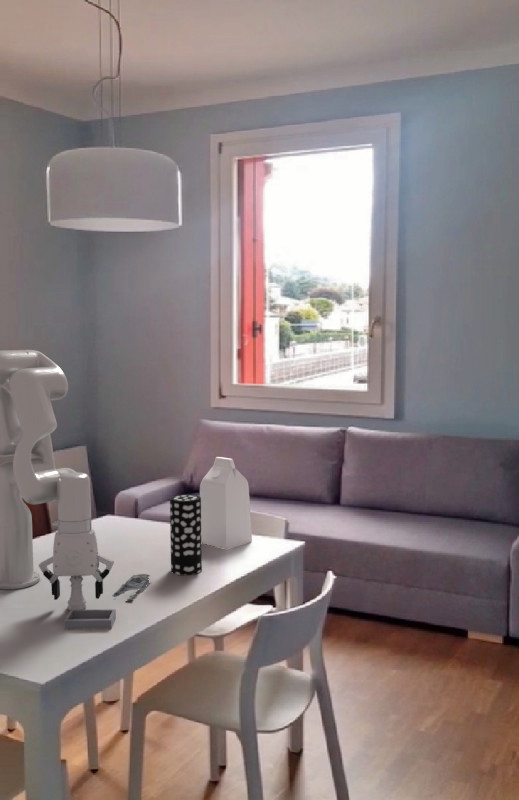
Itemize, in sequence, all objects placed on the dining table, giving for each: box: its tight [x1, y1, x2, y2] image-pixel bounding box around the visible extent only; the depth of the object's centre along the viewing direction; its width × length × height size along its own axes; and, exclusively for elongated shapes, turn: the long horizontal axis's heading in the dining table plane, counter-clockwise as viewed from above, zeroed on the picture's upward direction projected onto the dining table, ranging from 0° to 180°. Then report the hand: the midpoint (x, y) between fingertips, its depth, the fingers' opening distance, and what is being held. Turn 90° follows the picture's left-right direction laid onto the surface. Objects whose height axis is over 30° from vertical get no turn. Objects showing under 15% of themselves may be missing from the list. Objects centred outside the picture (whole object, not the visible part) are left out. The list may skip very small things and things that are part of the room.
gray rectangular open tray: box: [64, 608, 117, 630], centre depth 181 cm, size 10×7×2 cm, turn 92°
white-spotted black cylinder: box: [169, 494, 203, 576], centre depth 218 cm, size 8×8×20 cm
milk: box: [199, 456, 253, 550], centre depth 246 cm, size 12×12×26 cm
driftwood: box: [112, 573, 151, 602], centre depth 205 cm, size 21×7×2 cm, turn 169°
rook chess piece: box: [67, 576, 87, 611], centre depth 190 cm, size 4×4×8 cm
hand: (77, 597), depth 190 cm, fingers open, 9 cm apart
